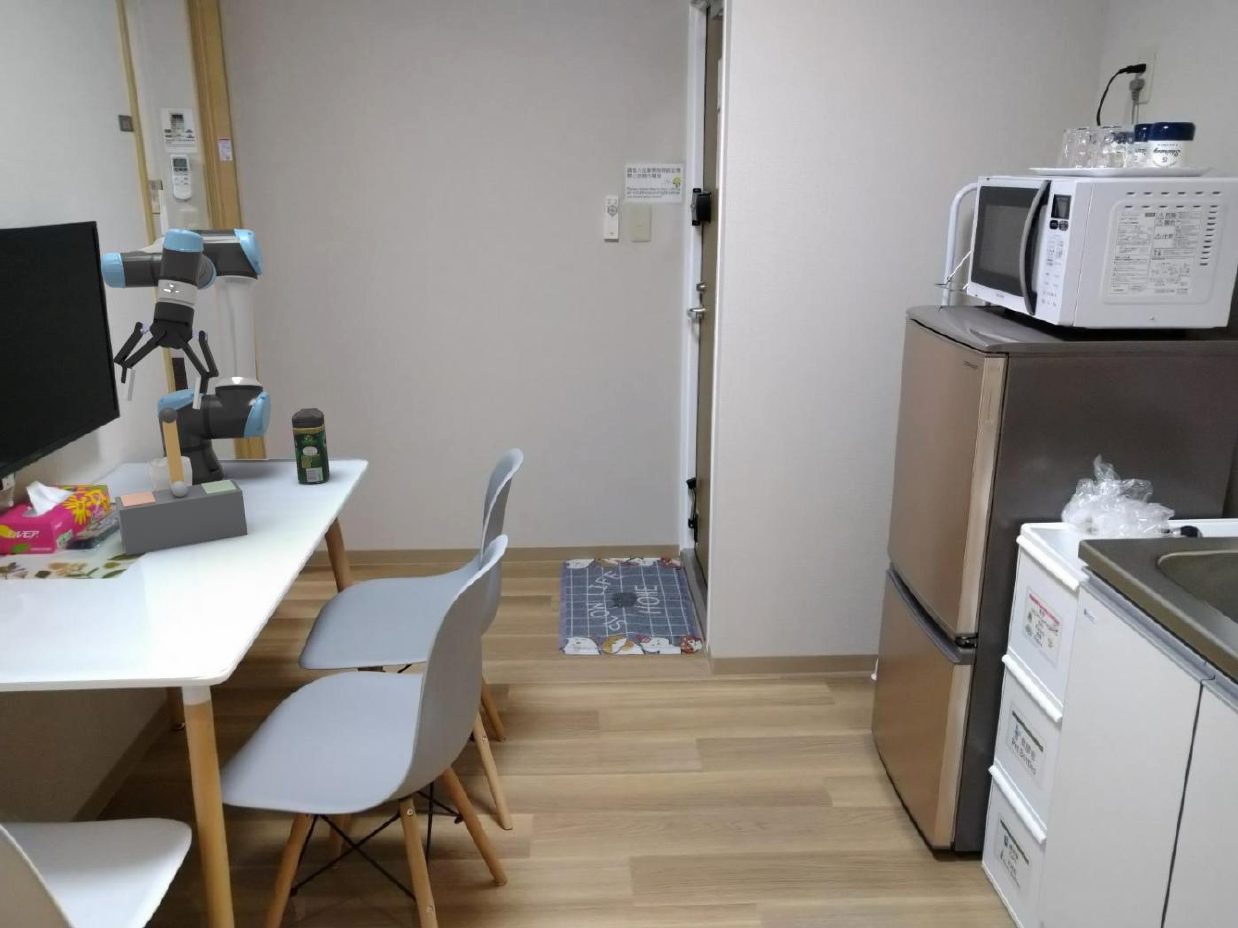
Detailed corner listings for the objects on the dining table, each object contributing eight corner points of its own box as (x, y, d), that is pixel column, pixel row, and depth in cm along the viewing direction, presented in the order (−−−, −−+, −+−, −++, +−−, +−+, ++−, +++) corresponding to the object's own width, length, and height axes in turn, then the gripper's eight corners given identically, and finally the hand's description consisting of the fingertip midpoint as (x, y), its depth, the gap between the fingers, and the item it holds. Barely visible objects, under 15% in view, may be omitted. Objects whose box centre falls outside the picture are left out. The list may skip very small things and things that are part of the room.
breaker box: (121, 540, 205) (114, 495, 202) (238, 520, 217) (233, 477, 214) (126, 555, 197) (118, 508, 194) (247, 534, 209) (242, 489, 206)
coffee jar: (300, 474, 251) (293, 406, 246) (331, 473, 252) (325, 405, 247) (295, 486, 242) (288, 415, 237) (327, 484, 243) (321, 413, 238)
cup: (162, 518, 218) (154, 469, 215) (150, 509, 225) (143, 460, 221) (202, 510, 224) (195, 461, 221) (189, 501, 230) (183, 453, 227)
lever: (167, 490, 205) (155, 405, 200) (185, 487, 207) (174, 403, 202) (171, 497, 200) (159, 411, 195) (190, 495, 202) (178, 409, 197)
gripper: (105, 292, 193) (91, 395, 192) (233, 310, 197) (220, 411, 196) (118, 298, 200) (104, 398, 200) (241, 316, 205) (228, 413, 204)
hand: (161, 404), depth 198 cm, fingers open, 13 cm apart
